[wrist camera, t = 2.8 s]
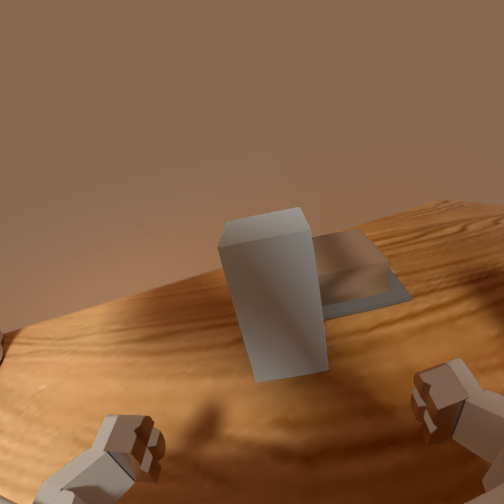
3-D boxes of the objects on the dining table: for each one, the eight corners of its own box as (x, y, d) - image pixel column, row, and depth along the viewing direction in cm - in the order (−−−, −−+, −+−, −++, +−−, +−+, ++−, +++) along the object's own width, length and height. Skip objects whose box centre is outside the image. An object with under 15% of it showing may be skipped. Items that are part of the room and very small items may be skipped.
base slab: (290, 312, 27) (285, 281, 26) (284, 268, 36) (279, 243, 34) (390, 291, 26) (389, 260, 25) (362, 253, 35) (359, 228, 34)
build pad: (275, 329, 26) (274, 325, 26) (271, 269, 37) (270, 265, 37) (411, 299, 25) (411, 296, 25) (370, 249, 36) (370, 246, 36)
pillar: (256, 382, 21) (217, 247, 17) (257, 339, 25) (226, 221, 22) (329, 370, 20) (310, 229, 17) (318, 328, 25) (299, 207, 21)
